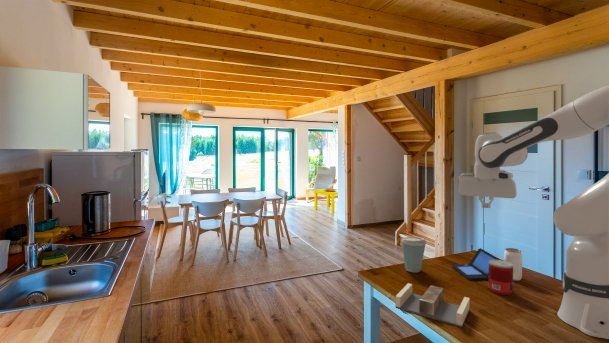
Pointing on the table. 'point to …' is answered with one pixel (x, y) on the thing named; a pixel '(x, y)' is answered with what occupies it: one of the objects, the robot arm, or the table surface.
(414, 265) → the disposable coffee cup
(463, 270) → the handheld game console
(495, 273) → the canned food
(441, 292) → the walnut block
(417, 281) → the table surface
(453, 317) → the rubber mat with end rails
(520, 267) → the can
